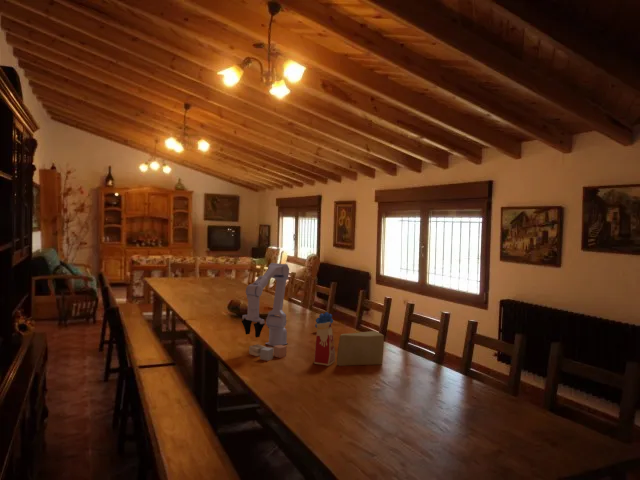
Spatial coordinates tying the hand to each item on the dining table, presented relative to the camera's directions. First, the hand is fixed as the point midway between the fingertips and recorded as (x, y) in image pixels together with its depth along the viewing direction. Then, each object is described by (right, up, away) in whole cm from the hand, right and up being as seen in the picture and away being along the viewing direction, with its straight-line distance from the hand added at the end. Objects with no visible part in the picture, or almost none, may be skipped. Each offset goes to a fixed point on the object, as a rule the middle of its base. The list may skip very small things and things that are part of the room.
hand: (252, 335), depth 241 cm
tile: (+7, -10, +10) cm, 16 cm away
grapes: (+36, -9, +56) cm, 67 cm away
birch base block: (+2, -10, +3) cm, 10 cm away
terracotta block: (+14, -10, 0) cm, 17 cm away
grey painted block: (+7, -10, -5) cm, 14 cm away
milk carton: (+35, -12, -7) cm, 38 cm away
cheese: (+52, -13, -7) cm, 54 cm away
